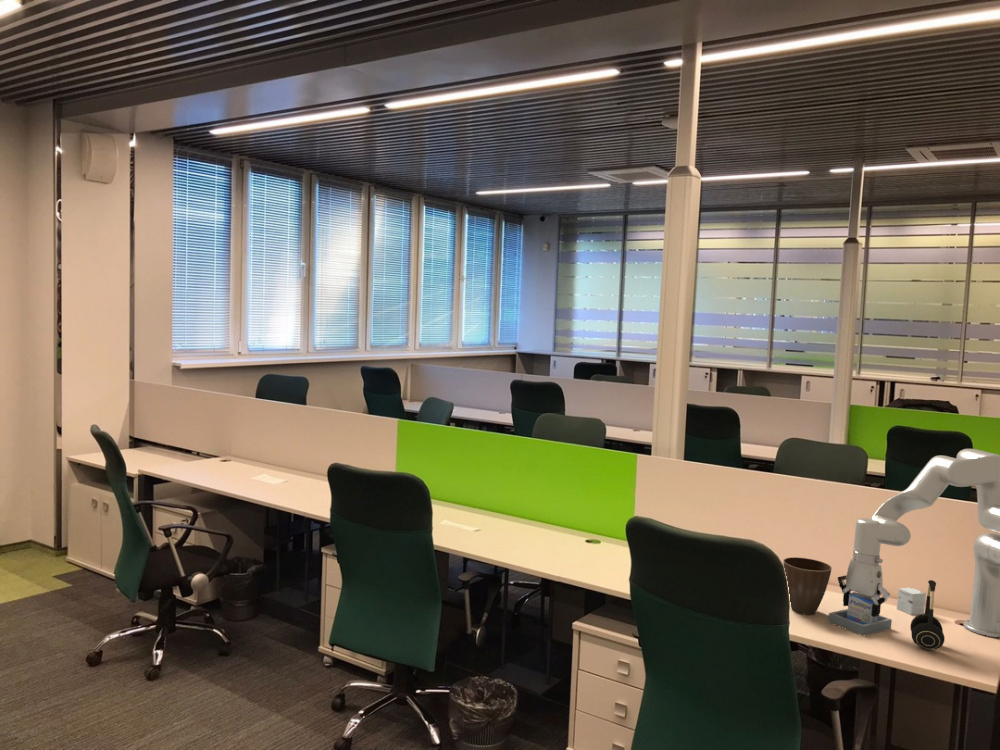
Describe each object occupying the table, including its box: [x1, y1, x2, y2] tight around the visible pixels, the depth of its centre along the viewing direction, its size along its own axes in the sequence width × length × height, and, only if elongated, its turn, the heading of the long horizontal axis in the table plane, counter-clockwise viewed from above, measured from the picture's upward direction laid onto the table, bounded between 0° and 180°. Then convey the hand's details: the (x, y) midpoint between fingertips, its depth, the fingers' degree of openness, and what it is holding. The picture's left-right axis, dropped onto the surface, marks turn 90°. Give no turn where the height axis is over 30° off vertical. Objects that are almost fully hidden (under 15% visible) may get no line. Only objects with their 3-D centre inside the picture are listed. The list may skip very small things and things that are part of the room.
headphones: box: [910, 579, 946, 651], centre depth 229 cm, size 9×15×20 cm, turn 154°
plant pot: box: [782, 556, 833, 616], centre depth 253 cm, size 15×15×16 cm
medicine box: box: [847, 591, 877, 625], centre depth 244 cm, size 8×4×9 cm, turn 43°
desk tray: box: [827, 608, 893, 637], centre depth 243 cm, size 12×15×3 cm
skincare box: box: [896, 587, 927, 616], centre depth 261 cm, size 6×6×7 cm
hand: (860, 610), depth 243 cm, fingers open, 9 cm apart
